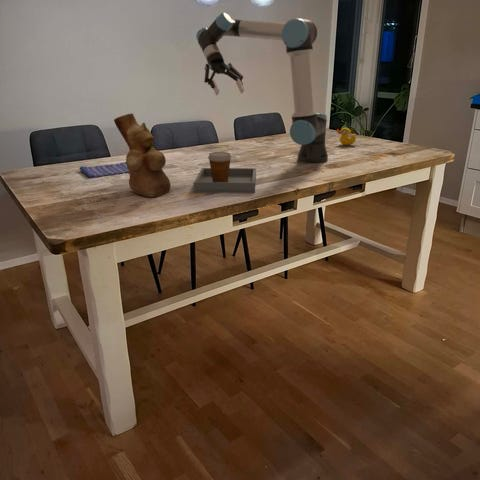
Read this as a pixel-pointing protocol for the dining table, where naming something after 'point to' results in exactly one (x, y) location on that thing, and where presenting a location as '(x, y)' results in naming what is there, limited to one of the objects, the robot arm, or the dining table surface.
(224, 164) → the disposable coffee cup
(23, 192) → the dining table surface
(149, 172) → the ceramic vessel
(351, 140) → the duckling
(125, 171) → the dish towel
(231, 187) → the grey tray
